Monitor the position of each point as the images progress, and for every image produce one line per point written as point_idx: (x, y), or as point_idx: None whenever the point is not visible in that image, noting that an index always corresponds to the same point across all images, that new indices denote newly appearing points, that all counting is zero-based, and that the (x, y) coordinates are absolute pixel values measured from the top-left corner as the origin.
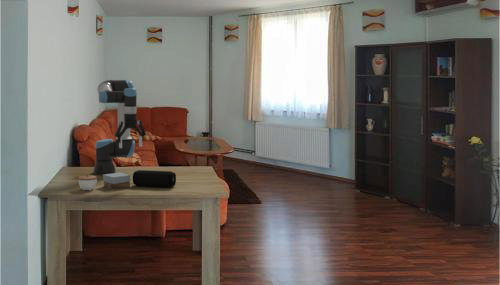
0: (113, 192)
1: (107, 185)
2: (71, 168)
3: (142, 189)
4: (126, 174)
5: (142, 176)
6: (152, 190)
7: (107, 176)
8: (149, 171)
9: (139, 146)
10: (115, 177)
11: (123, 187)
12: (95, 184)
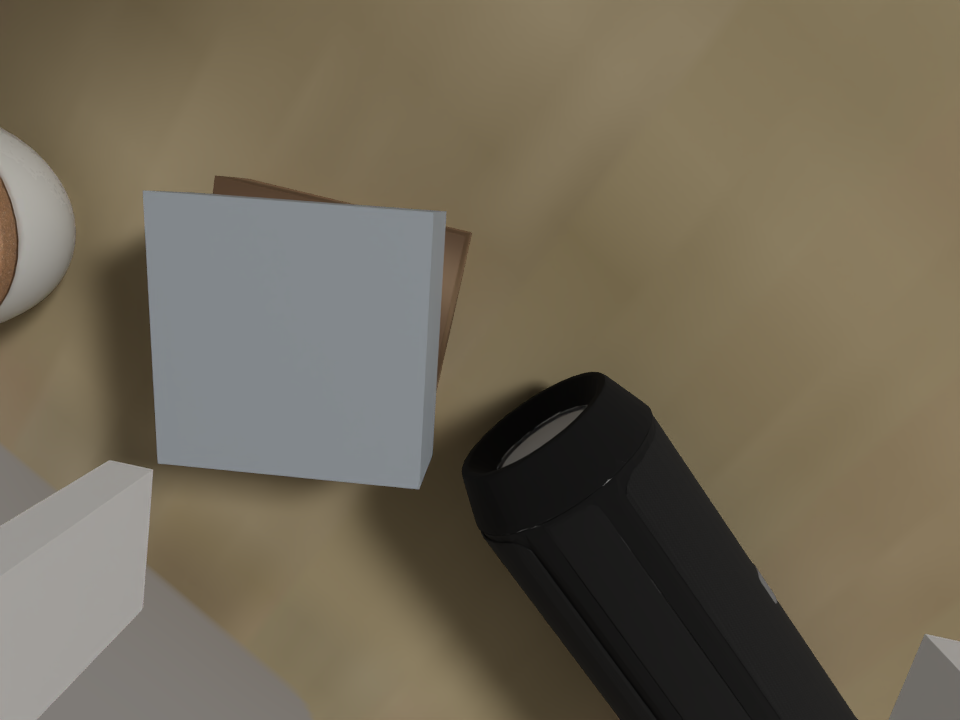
0: (167, 516)
1: None
2: None
3: (460, 598)
4: (408, 416)
5: (528, 595)
6: (501, 692)
7: (155, 318)
8: (633, 664)
9: (913, 662)
10: (193, 465)
11: None
12: (33, 306)
